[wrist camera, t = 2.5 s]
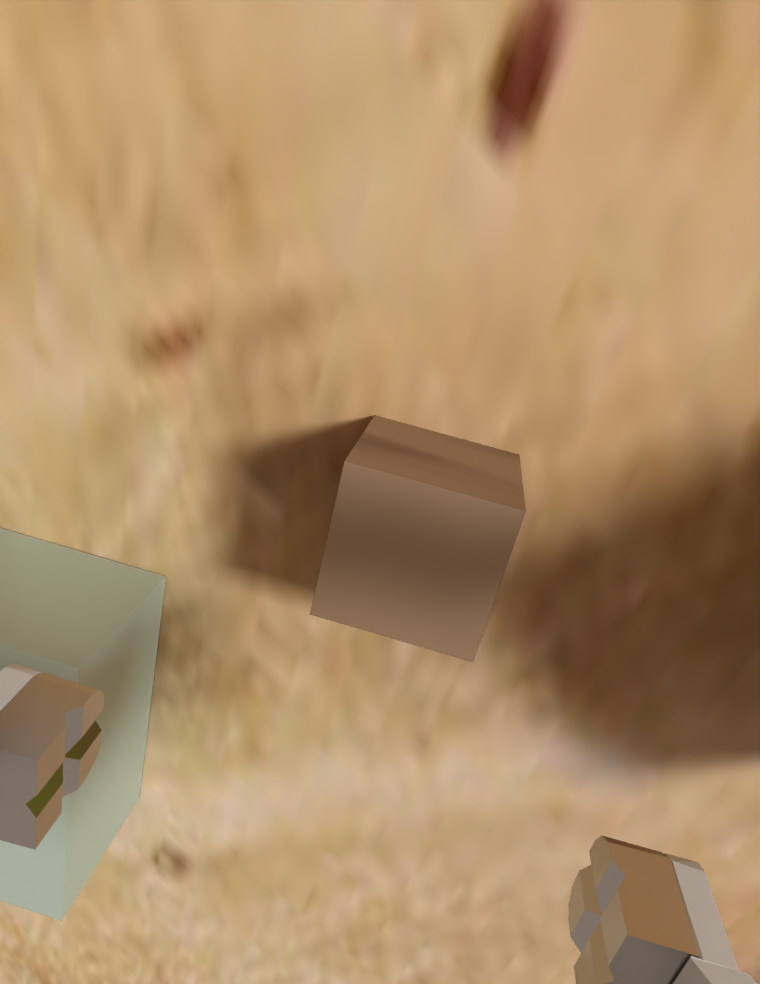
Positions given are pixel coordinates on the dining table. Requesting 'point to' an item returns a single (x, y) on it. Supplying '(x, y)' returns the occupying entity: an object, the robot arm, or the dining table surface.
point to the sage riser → (91, 662)
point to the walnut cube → (420, 537)
